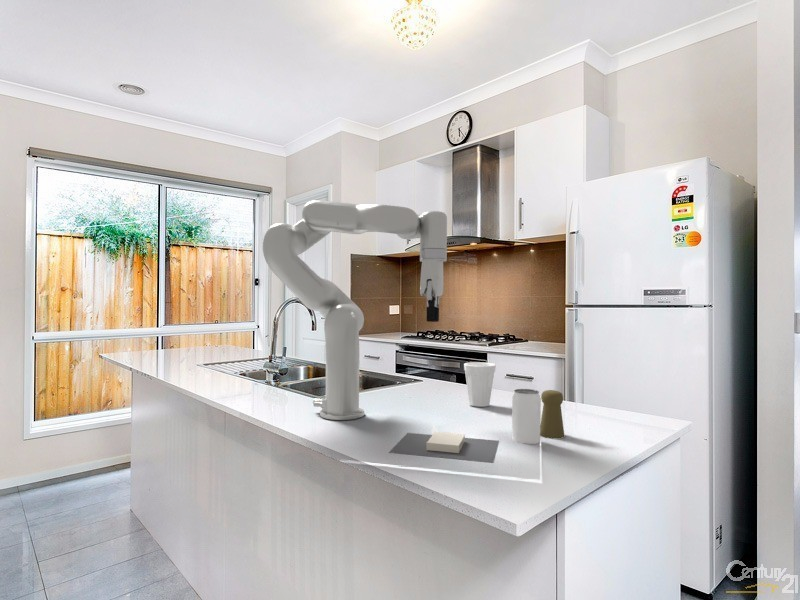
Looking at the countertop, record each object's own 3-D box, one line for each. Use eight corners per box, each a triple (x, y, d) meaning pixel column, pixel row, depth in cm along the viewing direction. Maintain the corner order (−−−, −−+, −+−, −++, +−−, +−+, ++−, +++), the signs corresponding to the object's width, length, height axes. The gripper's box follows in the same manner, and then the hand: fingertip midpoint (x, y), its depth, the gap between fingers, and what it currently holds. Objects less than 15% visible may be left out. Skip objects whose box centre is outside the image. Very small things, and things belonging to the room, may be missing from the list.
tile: (434, 439, 114) (426, 450, 106) (435, 431, 114) (426, 442, 106) (464, 441, 112) (458, 453, 104) (464, 434, 112) (458, 445, 104)
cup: (475, 400, 161) (475, 361, 161) (501, 405, 154) (502, 364, 154) (456, 405, 153) (457, 363, 153) (483, 410, 146) (483, 367, 146)
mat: (388, 455, 104) (388, 452, 104) (407, 435, 120) (407, 432, 120) (493, 465, 98) (493, 462, 98) (499, 443, 114) (499, 440, 114)
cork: (551, 439, 117) (552, 393, 117) (533, 433, 122) (534, 389, 122) (570, 436, 120) (570, 391, 120) (551, 430, 125) (552, 387, 125)
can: (535, 447, 110) (536, 394, 110) (508, 443, 114) (508, 391, 114) (543, 440, 116) (544, 390, 116) (517, 436, 119) (517, 387, 119)
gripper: (426, 258, 145) (425, 320, 145) (413, 254, 131) (413, 322, 131) (451, 258, 143) (450, 320, 143) (441, 253, 129) (440, 323, 129)
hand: (432, 321), depth 137 cm, fingers closed
